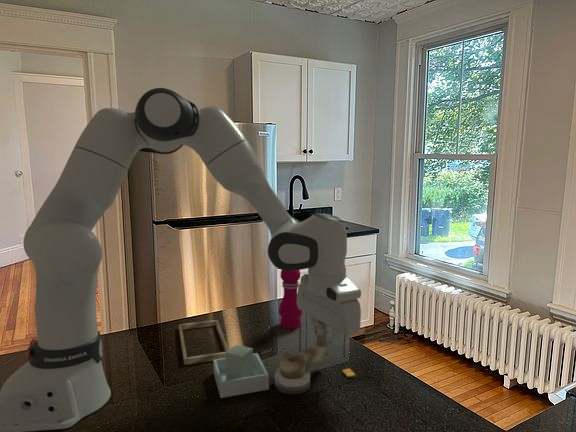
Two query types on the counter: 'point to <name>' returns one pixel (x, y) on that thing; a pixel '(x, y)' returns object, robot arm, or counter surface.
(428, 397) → the counter surface
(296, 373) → the crank
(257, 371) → the tray
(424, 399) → the counter surface
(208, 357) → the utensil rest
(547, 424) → the counter surface
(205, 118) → the robot arm
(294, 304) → the pepper mill
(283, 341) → the counter surface
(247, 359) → the block
